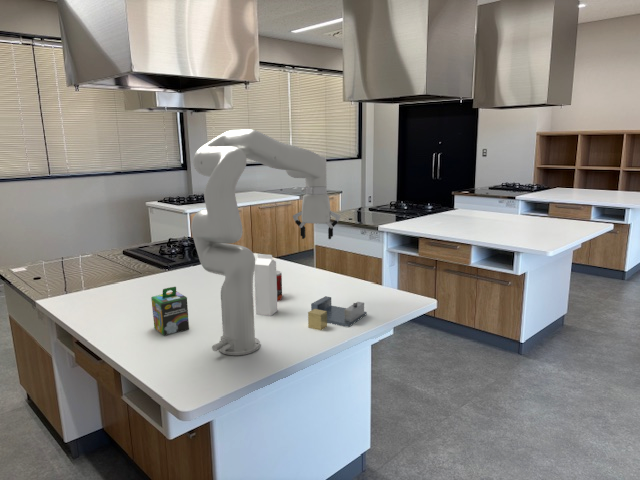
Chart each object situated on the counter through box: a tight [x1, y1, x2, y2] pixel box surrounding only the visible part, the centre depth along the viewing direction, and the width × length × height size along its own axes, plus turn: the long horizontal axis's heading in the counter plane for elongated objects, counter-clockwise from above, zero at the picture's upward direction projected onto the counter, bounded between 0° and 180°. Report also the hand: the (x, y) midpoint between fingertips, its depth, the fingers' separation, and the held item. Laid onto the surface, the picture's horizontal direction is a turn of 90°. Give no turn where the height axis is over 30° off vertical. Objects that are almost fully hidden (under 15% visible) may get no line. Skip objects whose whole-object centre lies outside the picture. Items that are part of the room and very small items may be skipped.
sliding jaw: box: [345, 301, 365, 322], centre depth 163 cm, size 10×2×5 cm, turn 149°
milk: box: [253, 253, 278, 317], centre depth 170 cm, size 6×6×22 cm
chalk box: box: [150, 286, 190, 337], centre depth 156 cm, size 9×9×15 cm
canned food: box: [276, 269, 283, 302], centre depth 187 cm, size 8×8×11 cm
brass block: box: [307, 309, 328, 331], centre depth 157 cm, size 4×5×6 cm
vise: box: [310, 296, 367, 327], centre depth 167 cm, size 14×16×5 cm
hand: (316, 238), depth 170 cm, fingers open, 9 cm apart
